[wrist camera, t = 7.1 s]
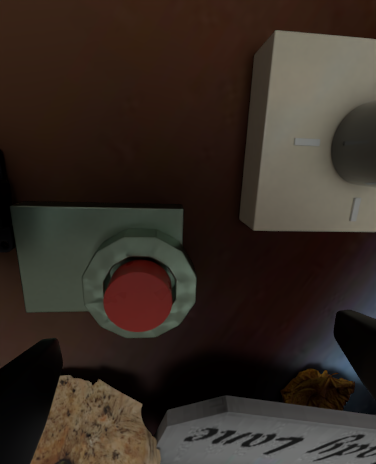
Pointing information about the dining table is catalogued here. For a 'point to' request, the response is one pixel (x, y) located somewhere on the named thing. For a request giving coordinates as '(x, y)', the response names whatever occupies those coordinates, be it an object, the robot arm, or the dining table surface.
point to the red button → (138, 296)
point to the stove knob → (356, 146)
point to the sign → (264, 434)
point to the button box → (98, 255)
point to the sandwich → (94, 427)
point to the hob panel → (305, 134)
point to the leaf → (318, 390)
